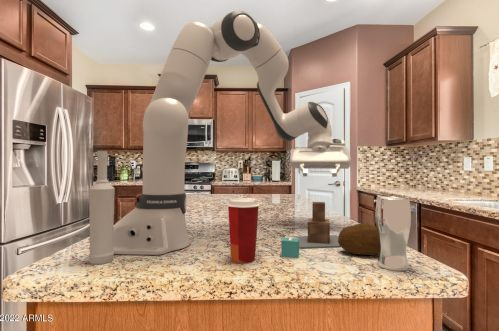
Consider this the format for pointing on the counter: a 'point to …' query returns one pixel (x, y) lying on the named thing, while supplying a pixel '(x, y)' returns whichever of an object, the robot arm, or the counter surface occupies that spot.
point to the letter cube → (290, 247)
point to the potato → (360, 239)
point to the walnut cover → (318, 225)
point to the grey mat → (304, 243)
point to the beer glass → (393, 231)
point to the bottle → (101, 215)
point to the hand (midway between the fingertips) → (319, 175)
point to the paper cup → (243, 229)
